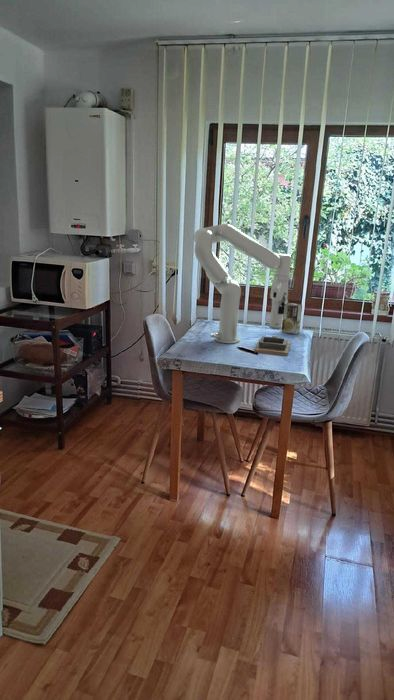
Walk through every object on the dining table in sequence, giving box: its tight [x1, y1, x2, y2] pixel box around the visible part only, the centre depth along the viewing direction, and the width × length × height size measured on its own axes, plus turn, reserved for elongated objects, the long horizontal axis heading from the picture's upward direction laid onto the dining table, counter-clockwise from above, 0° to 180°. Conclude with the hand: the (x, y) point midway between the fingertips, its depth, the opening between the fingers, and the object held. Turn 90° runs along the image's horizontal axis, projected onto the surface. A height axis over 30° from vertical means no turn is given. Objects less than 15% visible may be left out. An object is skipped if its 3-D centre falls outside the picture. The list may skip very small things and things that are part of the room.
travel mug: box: [268, 292, 284, 331], centre depth 255 cm, size 6×7×20 cm
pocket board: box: [253, 335, 291, 357], centre depth 244 cm, size 22×16×4 cm
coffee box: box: [281, 302, 303, 335], centre depth 278 cm, size 9×6×16 cm
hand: (277, 312), depth 256 cm, fingers closed on travel mug, 6 cm apart
